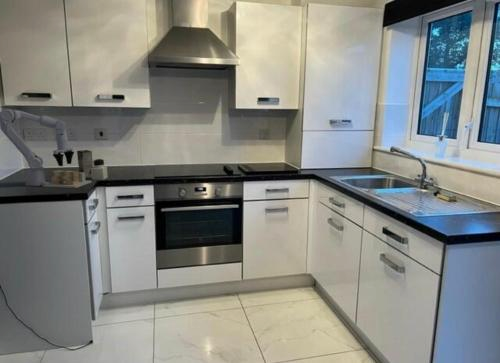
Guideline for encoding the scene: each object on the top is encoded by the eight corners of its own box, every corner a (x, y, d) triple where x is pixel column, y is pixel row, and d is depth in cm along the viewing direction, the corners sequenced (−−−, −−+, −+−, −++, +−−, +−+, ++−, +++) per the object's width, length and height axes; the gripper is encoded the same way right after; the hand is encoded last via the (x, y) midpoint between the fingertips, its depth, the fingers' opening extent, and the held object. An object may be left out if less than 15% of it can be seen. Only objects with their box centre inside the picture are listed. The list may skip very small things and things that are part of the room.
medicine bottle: (107, 177, 229) (106, 158, 226) (103, 179, 222) (102, 160, 219) (96, 177, 228) (94, 158, 226) (91, 180, 222) (89, 160, 219)
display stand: (42, 186, 204) (41, 176, 202) (60, 181, 218) (59, 171, 217) (75, 187, 200) (74, 177, 199) (91, 182, 215) (90, 172, 214)
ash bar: (51, 180, 206) (50, 171, 205) (56, 179, 210) (55, 170, 209) (74, 181, 204) (73, 172, 203) (78, 179, 207) (77, 171, 206)
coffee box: (78, 175, 236) (76, 150, 233) (89, 174, 241) (86, 149, 237) (84, 177, 230) (81, 151, 226) (94, 176, 234) (92, 151, 231)
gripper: (60, 142, 203) (63, 167, 206) (76, 140, 217) (79, 163, 220) (48, 142, 204) (51, 166, 207) (65, 140, 218) (68, 162, 221)
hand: (65, 164), depth 214 cm, fingers open, 7 cm apart
